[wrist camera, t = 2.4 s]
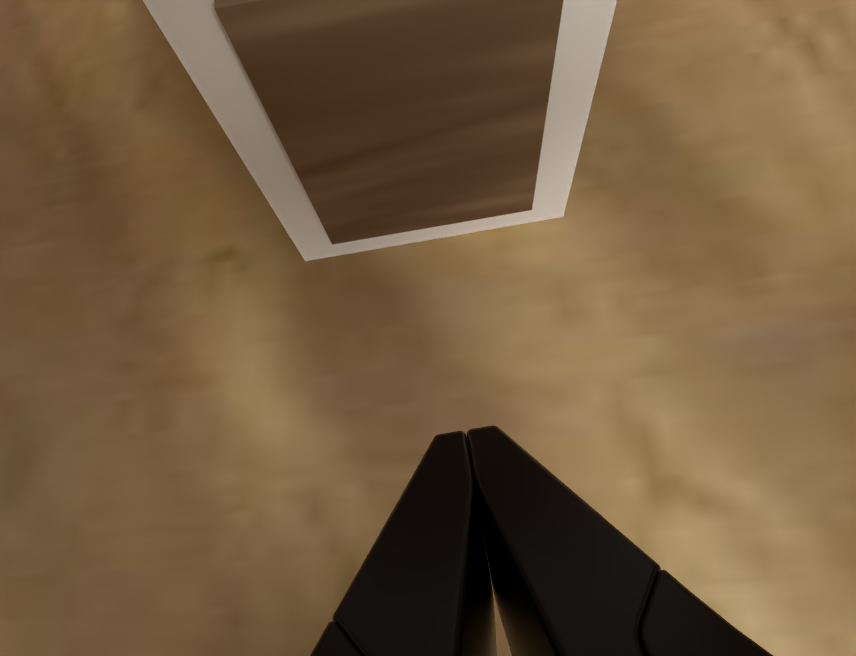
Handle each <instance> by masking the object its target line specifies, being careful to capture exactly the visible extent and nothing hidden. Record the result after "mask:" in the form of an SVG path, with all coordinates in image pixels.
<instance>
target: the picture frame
mask: <svg viewBox="0 0 856 656" xmlns="http://www.w3.org/2000/svg"><path fill="white" fill-rule="evenodd" d="M143 2H144V3H145V5H146V7H147V8H148V10H149V12H150V13H151V15H152V16H153V18H154V20H155V21H156V23H157V24H158V26H159V28H160V29H161V31H162V32H163V34H164V36H165V37H166V39H167V40H168V42H169V44H170V45H171V47H172V48H173V50H174V52H175V53H176V55H177V56H178V58H179V60H180V61H181V63H182V65H183V66H184V68H185V69H186V71H187V73H188V74H189V76H190V77H191V79H192V81H193V82H194V84H195V85H196V87H197V89H198V90H199V92H200V93H201V95H202V97H203V98H204V100H205V101H206V103H207V105H208V106H209V108H210V109H211V111H212V113H213V114H214V116H215V117H216V119H217V121H218V122H219V124H220V126H221V127H222V129H223V130H224V132H225V134H226V135H227V137H228V138H229V140H230V142H231V143H232V145H233V146H234V148H235V150H236V151H237V153H238V154H239V156H240V158H241V159H242V161H243V162H244V164H245V166H246V167H247V169H248V170H249V172H250V174H251V175H252V177H253V179H254V180H255V182H256V183H257V185H258V187H259V188H260V190H261V191H262V193H263V195H264V196H265V198H266V199H267V201H268V203H269V204H270V206H271V207H272V209H273V211H274V212H275V214H276V215H277V217H278V219H279V220H280V222H281V223H282V225H283V227H284V228H285V230H286V232H287V233H288V235H289V236H290V238H291V240H292V241H293V243H294V244H295V246H296V248H297V249H298V251H299V252H300V254H301V256H302V257H303V259H304V260H305V261H310V260H316V259H321V258H327V257H333V256H339V255H345V254H350V253H356V252H362V251H368V250H373V249H379V248H385V247H391V246H397V245H402V244H408V243H414V242H420V241H426V240H431V239H437V238H443V237H449V236H454V235H460V234H466V233H472V232H478V231H483V230H489V229H495V228H501V227H507V226H512V225H518V224H524V223H530V222H536V221H541V220H547V219H553V218H559V217H563V216H564V212H565V208H566V204H567V200H568V196H569V192H570V188H571V184H572V180H573V176H574V171H575V167H576V163H577V159H578V155H579V151H580V147H581V143H582V139H583V135H584V131H585V127H586V123H587V119H588V115H589V111H590V107H591V103H592V99H593V95H594V91H595V87H596V83H597V79H598V75H599V71H600V67H601V63H602V59H603V55H604V51H605V47H606V43H607V39H608V35H609V31H610V27H611V23H612V19H613V14H614V10H615V6H616V2H617V0H143Z"/></svg>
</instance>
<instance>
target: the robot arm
mask: <svg viewBox="0 0 856 656" xmlns="http://www.w3.org/2000/svg"><path fill="white" fill-rule="evenodd" d="M467 441H468V442H467ZM468 447H469V448H468ZM484 540H485V541H484ZM485 546H486V547H485ZM486 552H487V553H486ZM487 558H488V559H487ZM488 563H489V565H488ZM489 569H490V571H489ZM490 575H491V577H490ZM491 580H492V584H491ZM492 585H493V590H494V595H495V599H496V603H497V606H498V610H499V614H500V617H501V620H502V624H503V627H504V630H505V634H506V637H507V640H508V643H509V647H510V650H511V653H512V656H773V655H771V654H770V653H769V652H767V651H766V650H765V649H763V648H762V647H761V646H759V645H758V644H756V643H755V642H754V641H752V640H751V639H750V638H748V637H747V636H746V635H744V634H743V633H741V632H740V631H739V630H737V629H736V628H735V627H733V626H732V625H731V624H730V623H728V622H727V621H726V620H725V619H723V618H722V617H721V616H720V615H719V614H717V613H716V612H715V611H714V610H712V609H711V608H710V607H709V606H707V605H706V604H705V603H704V602H703V601H701V600H700V599H699V598H698V597H696V596H695V595H694V594H693V593H691V592H690V591H689V590H688V589H687V588H686V587H684V586H683V585H682V584H681V583H680V582H678V581H677V580H676V579H675V578H674V577H673V576H672V575H670V574H669V573H668V572H667V571H665V570H661V568H660V566H659V565H658V564H657V563H656V562H655V561H654V560H653V559H651V558H650V557H649V556H648V555H647V554H646V553H644V552H643V551H642V550H641V549H640V548H638V547H637V546H636V545H635V544H634V543H633V542H631V541H630V540H629V539H628V538H627V537H626V536H624V535H623V534H622V533H621V532H620V531H619V530H617V529H616V528H615V527H614V526H613V525H612V524H610V523H609V522H608V521H607V520H606V519H605V518H603V517H602V516H601V515H600V514H599V513H598V512H596V511H595V510H594V509H593V508H592V507H591V506H589V505H588V504H587V503H586V502H585V501H584V500H582V499H581V498H580V497H579V496H578V495H577V494H575V493H574V492H573V491H572V490H571V489H570V488H568V487H567V486H566V485H565V484H564V483H563V482H561V481H560V480H559V479H558V478H557V477H556V476H554V475H553V474H552V473H551V472H550V471H549V470H547V469H546V468H545V467H544V466H543V465H542V464H540V463H539V462H538V461H537V460H536V459H535V458H533V457H532V456H531V455H530V454H529V453H528V452H526V451H525V450H524V449H523V448H522V447H521V446H519V445H518V444H517V443H516V442H515V441H514V440H512V439H511V438H510V437H509V436H508V435H507V434H505V433H504V432H503V431H502V430H501V429H499V428H498V427H497V426H487V427H481V428H475V429H470V430H469V431H468V432H467V437H466V434H465V433H464V432H463V431H457V432H451V433H444V434H439V435H437V436H435V437H434V439H433V441H432V442H431V444H430V446H429V448H428V449H427V451H426V453H425V455H424V456H423V458H422V460H421V462H420V464H419V465H418V467H417V469H416V471H415V472H414V474H413V476H412V478H411V479H410V481H409V483H408V485H407V486H406V488H405V490H404V492H403V494H402V495H401V497H400V499H399V501H398V502H397V504H396V506H395V508H394V509H393V511H392V513H391V515H390V517H389V518H388V520H387V522H386V524H385V525H384V527H383V529H382V531H381V532H380V534H379V536H378V538H377V540H376V541H375V543H374V545H373V547H372V548H371V550H370V552H369V554H368V555H367V557H366V559H365V561H364V562H363V564H362V566H361V568H360V570H359V571H358V573H357V575H356V577H355V578H354V580H353V582H352V584H351V585H350V587H349V589H348V591H347V593H346V594H345V596H344V598H343V600H342V601H341V603H340V605H339V607H338V608H337V610H336V612H335V614H334V615H333V621H332V622H330V623H329V624H328V625H327V627H326V629H325V631H324V632H323V634H322V636H321V638H320V640H319V641H318V643H317V645H316V647H315V648H314V650H313V652H312V653H311V655H310V656H497V653H496V631H495V612H494V599H493V591H492Z"/></svg>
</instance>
